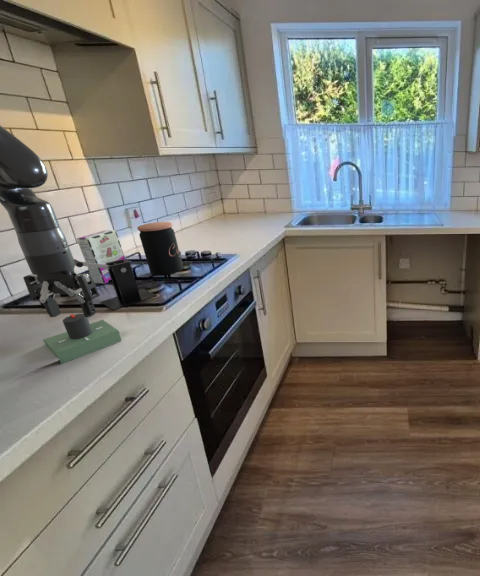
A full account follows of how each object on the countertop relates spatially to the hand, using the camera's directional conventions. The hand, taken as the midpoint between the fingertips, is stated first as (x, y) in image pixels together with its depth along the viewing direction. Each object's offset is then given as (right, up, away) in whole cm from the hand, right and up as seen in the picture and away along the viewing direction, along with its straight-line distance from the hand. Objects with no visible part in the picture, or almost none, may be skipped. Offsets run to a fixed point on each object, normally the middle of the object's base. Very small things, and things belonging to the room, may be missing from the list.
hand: (73, 315), depth 84 cm
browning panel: (+1, -7, +3) cm, 8 cm away
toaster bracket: (-5, +2, +26) cm, 26 cm away
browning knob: (0, -5, +2) cm, 5 cm away
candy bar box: (-25, +10, +46) cm, 53 cm away
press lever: (-8, +12, +18) cm, 23 cm away
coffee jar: (-7, +12, +49) cm, 51 cm away
